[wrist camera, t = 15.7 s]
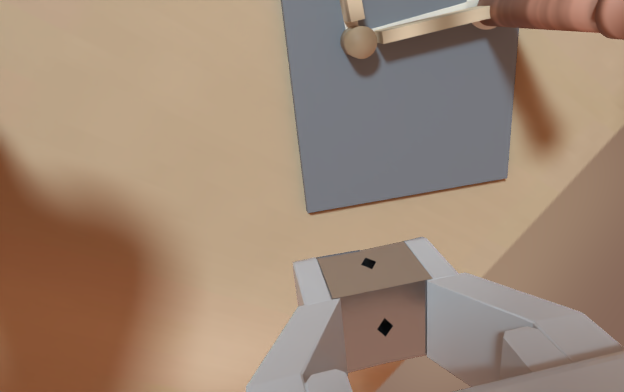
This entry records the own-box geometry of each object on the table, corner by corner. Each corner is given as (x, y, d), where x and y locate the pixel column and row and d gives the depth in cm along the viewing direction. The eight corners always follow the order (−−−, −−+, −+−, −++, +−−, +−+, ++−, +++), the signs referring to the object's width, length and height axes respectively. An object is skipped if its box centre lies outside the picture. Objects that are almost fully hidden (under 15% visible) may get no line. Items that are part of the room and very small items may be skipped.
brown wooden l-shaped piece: (377, 57, 40) (460, 82, 26) (371, 15, 39) (456, 17, 25) (510, 24, 41) (659, 32, 27) (509, -18, 40) (666, -33, 26)
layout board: (306, 209, 46) (308, 213, 45) (265, -127, 34) (266, -131, 33) (502, 175, 49) (507, 178, 48) (526, -147, 37) (533, -151, 36)
